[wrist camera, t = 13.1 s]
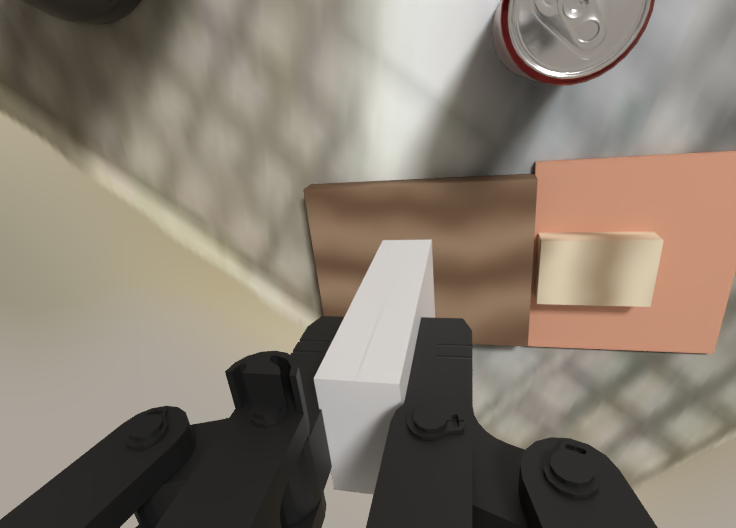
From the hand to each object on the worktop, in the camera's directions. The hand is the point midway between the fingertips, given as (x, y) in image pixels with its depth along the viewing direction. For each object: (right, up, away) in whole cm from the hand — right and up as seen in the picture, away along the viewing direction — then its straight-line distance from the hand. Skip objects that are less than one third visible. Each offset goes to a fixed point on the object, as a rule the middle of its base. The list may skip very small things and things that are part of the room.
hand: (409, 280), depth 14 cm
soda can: (+12, +18, +19) cm, 29 cm away
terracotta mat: (+21, +1, +24) cm, 32 cm away
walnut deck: (+4, +1, +28) cm, 29 cm away
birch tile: (+18, 0, +25) cm, 31 cm away
